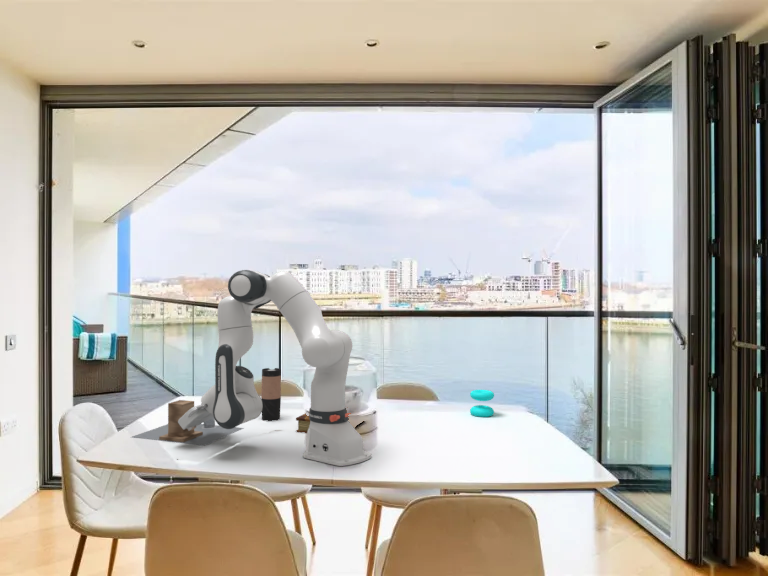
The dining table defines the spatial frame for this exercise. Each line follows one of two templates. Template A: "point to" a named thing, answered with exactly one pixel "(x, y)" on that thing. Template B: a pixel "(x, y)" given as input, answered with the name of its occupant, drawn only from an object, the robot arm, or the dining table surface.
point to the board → (205, 439)
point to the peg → (209, 424)
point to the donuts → (482, 409)
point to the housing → (174, 428)
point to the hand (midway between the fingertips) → (190, 428)
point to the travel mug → (271, 393)
